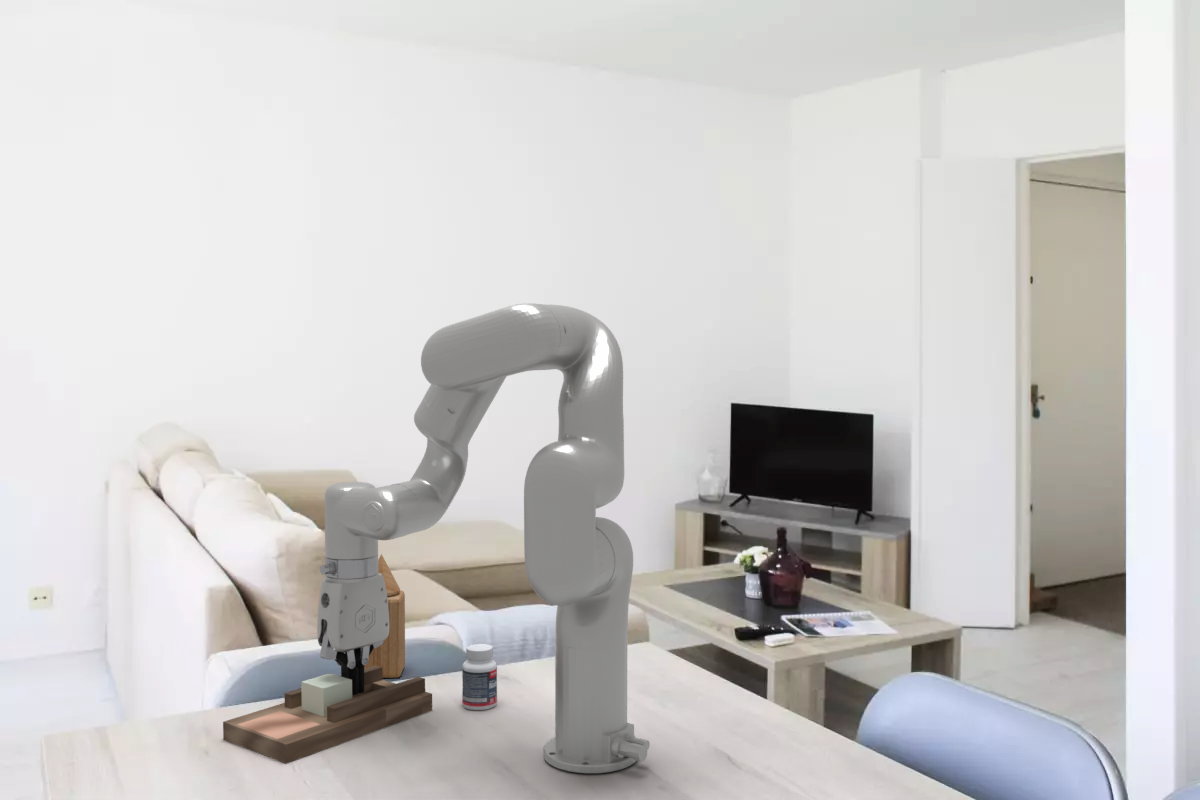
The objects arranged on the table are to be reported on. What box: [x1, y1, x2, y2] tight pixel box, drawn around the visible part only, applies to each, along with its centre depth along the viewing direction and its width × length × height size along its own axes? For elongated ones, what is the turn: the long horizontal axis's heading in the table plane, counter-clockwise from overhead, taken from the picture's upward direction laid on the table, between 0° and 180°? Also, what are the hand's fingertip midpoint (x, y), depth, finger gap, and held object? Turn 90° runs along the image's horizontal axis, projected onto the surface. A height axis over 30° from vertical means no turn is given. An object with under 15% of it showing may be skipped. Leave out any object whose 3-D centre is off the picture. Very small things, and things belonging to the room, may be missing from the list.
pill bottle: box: [461, 643, 498, 711], centre depth 162 cm, size 5×5×9 cm
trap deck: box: [222, 666, 433, 764], centre depth 154 cm, size 14×26×4 cm, turn 143°
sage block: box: [300, 673, 352, 717], centre depth 153 cm, size 5×5×4 cm
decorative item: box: [364, 553, 406, 679], centre depth 178 cm, size 7×7×20 cm
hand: (352, 691), depth 157 cm, fingers closed
